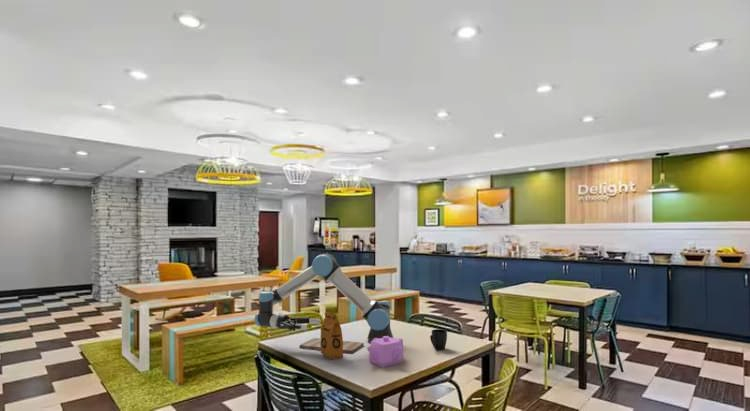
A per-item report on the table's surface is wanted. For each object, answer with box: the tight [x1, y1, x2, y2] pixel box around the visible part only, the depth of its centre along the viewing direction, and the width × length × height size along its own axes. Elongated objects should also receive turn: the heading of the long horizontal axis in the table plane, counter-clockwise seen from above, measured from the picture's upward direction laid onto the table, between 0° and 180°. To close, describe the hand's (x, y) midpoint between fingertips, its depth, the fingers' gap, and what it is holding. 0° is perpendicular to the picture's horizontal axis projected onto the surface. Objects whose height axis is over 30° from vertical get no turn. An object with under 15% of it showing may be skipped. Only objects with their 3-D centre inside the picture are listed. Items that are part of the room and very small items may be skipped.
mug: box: [429, 328, 448, 351], centre depth 219 cm, size 8×12×10 cm
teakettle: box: [366, 336, 404, 368], centre depth 200 cm, size 17×17×12 cm
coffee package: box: [320, 311, 344, 360], centre depth 211 cm, size 10×12×22 cm
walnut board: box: [299, 337, 365, 355], centre depth 227 cm, size 32×16×2 cm, turn 68°
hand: (313, 324), depth 217 cm, fingers open, 13 cm apart
